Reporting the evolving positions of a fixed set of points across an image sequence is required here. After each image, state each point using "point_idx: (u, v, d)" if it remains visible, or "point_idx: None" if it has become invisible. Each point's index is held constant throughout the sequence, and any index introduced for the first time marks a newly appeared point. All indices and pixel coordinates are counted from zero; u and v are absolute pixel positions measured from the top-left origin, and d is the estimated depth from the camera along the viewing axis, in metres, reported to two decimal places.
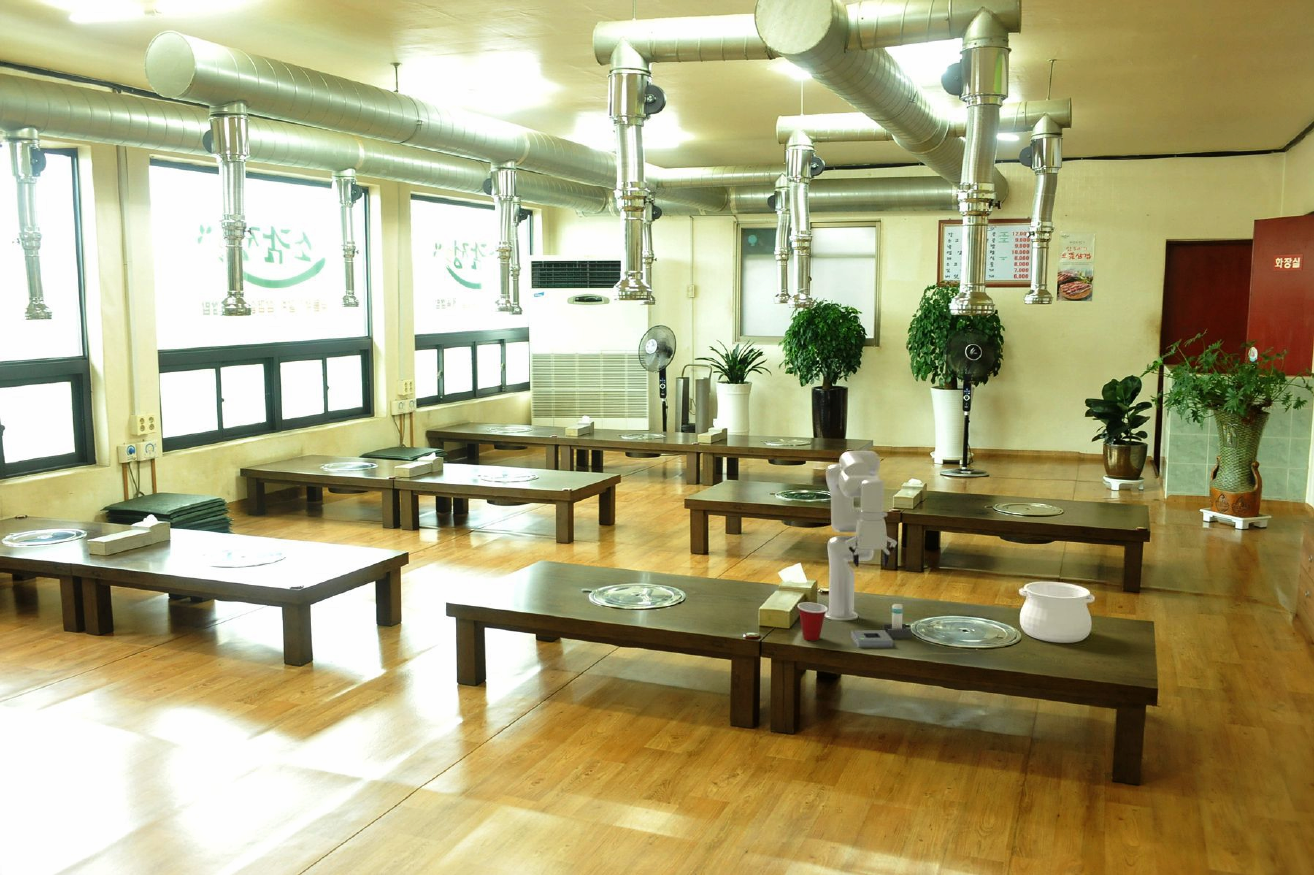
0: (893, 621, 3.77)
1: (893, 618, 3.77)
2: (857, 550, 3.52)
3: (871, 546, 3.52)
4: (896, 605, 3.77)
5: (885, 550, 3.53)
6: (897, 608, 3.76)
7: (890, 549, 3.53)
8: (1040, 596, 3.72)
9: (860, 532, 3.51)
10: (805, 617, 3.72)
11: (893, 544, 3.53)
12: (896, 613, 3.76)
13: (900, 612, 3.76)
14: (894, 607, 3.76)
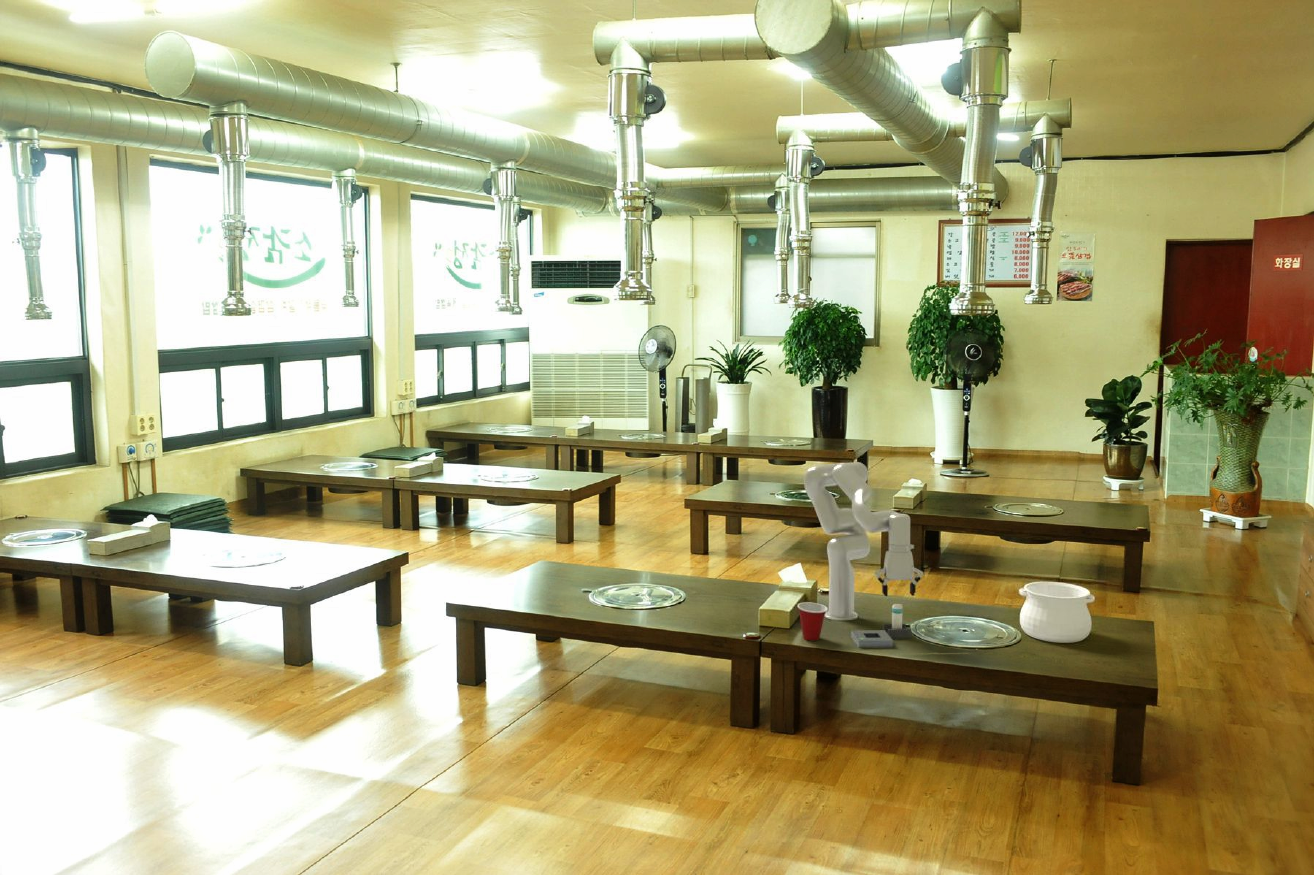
0: (893, 621, 3.77)
1: (893, 618, 3.77)
2: (886, 581, 3.74)
3: (899, 577, 3.74)
4: (896, 605, 3.77)
5: (912, 580, 3.75)
6: (897, 608, 3.76)
7: (917, 579, 3.75)
8: (1040, 596, 3.72)
9: (889, 564, 3.73)
10: (805, 617, 3.72)
11: (920, 575, 3.75)
12: (896, 613, 3.76)
13: (900, 612, 3.76)
14: (894, 607, 3.76)
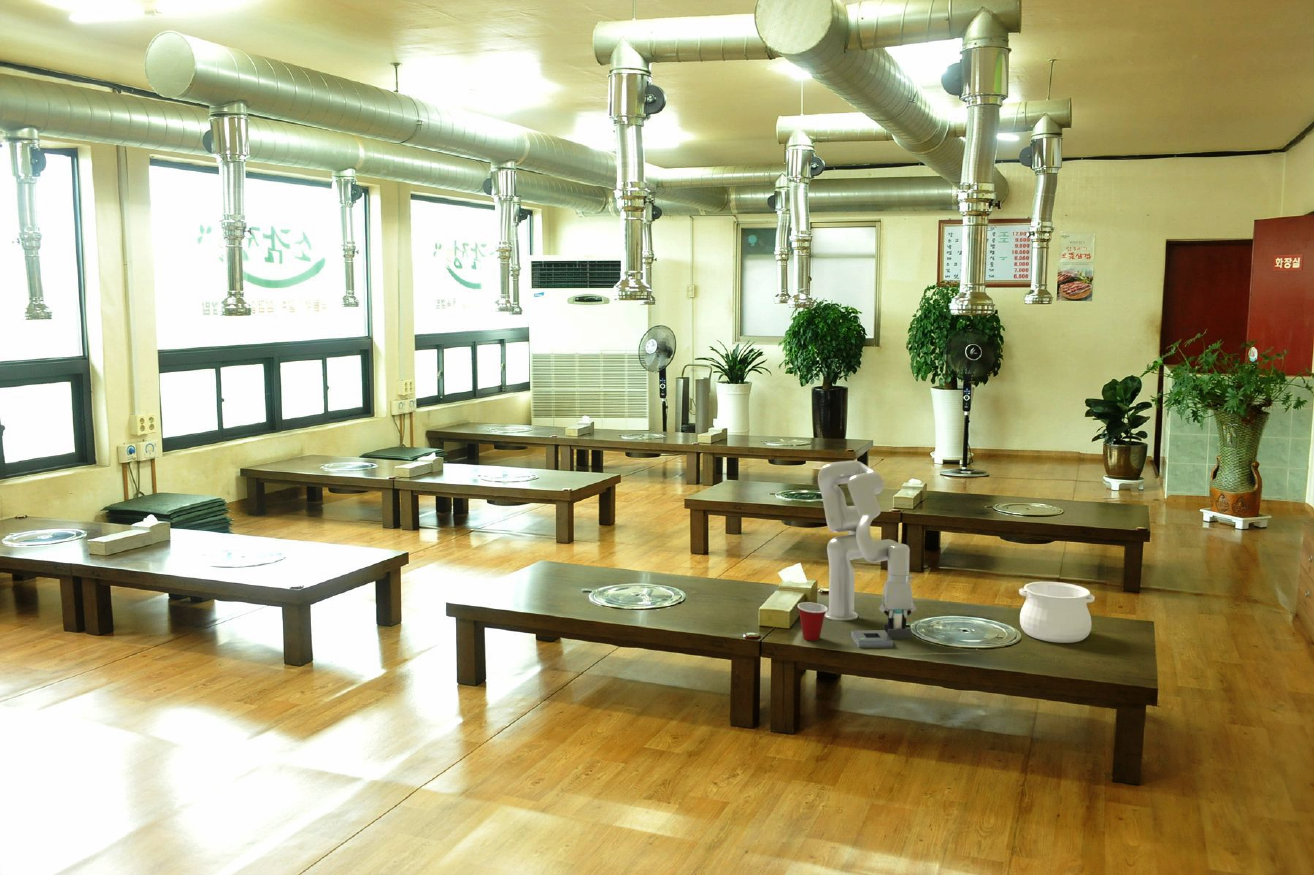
0: (893, 621, 3.77)
1: (893, 618, 3.77)
2: (890, 613, 3.76)
3: (898, 607, 3.75)
4: None
5: (905, 613, 3.76)
6: None
7: (908, 613, 3.77)
8: (1040, 596, 3.72)
9: (887, 594, 3.75)
10: (805, 617, 3.72)
11: (912, 609, 3.77)
12: (896, 613, 3.76)
13: (900, 612, 3.76)
14: None
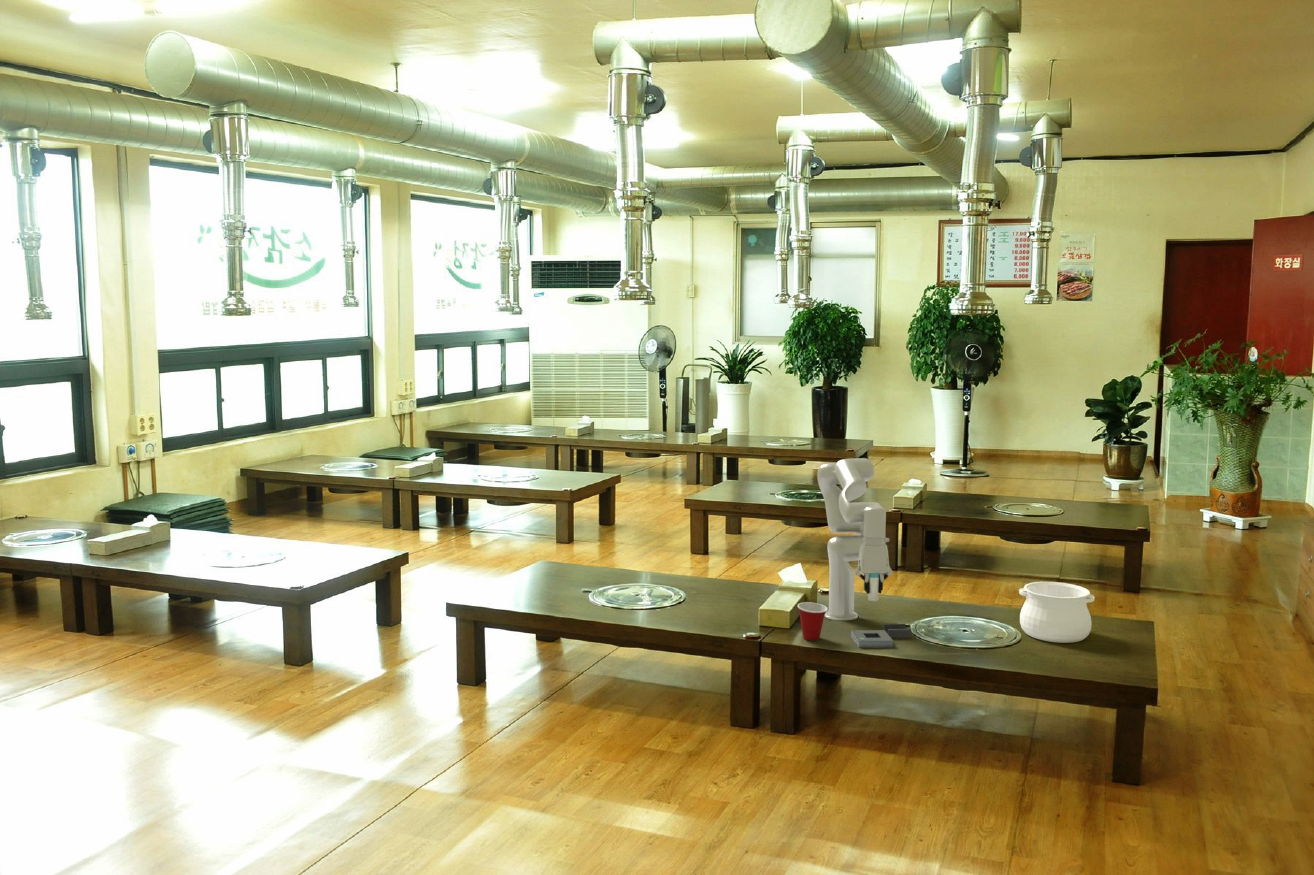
0: None
1: (869, 582, 3.67)
2: (866, 577, 3.66)
3: (874, 570, 3.65)
4: None
5: (881, 577, 3.66)
6: None
7: (884, 577, 3.67)
8: (1040, 596, 3.72)
9: (863, 557, 3.64)
10: (805, 617, 3.72)
11: (889, 573, 3.67)
12: (872, 577, 3.66)
13: (876, 576, 3.66)
14: None
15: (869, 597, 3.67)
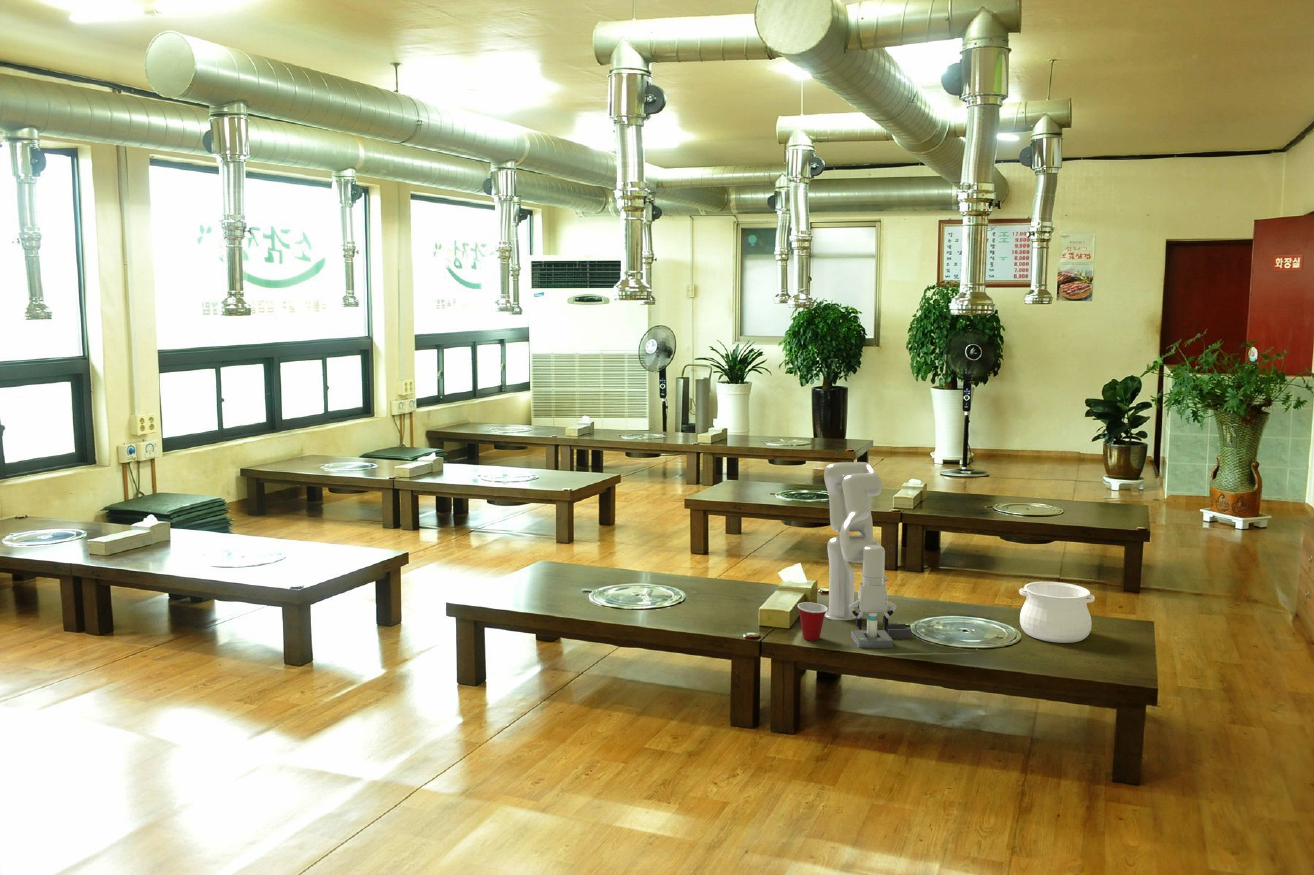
0: (868, 628, 3.69)
1: (868, 625, 3.68)
2: (860, 614, 3.68)
3: (873, 609, 3.67)
4: None
5: (885, 614, 3.68)
6: (872, 615, 3.67)
7: (890, 613, 3.68)
8: (1040, 596, 3.72)
9: (862, 596, 3.66)
10: (805, 617, 3.72)
11: (893, 608, 3.68)
12: (871, 620, 3.67)
13: (875, 619, 3.67)
14: (869, 614, 3.68)
15: None
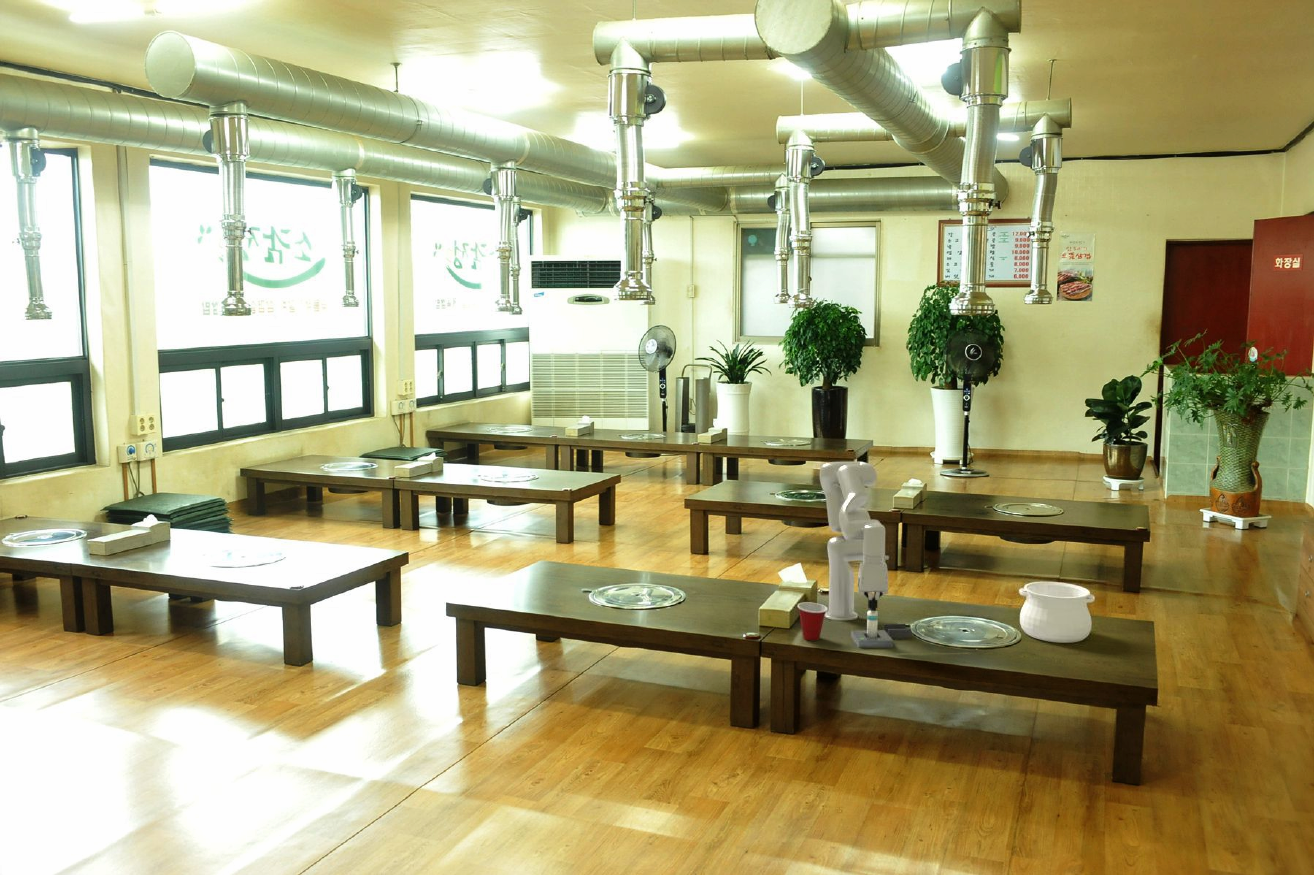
0: (868, 628, 3.69)
1: (868, 625, 3.69)
2: (869, 595, 3.67)
3: (873, 588, 3.66)
4: (871, 612, 3.69)
5: (877, 594, 3.67)
6: (872, 615, 3.67)
7: (879, 594, 3.67)
8: (1040, 596, 3.72)
9: (862, 575, 3.65)
10: (805, 617, 3.72)
11: (884, 592, 3.68)
12: (871, 620, 3.68)
13: (875, 619, 3.68)
14: (869, 614, 3.68)
15: None
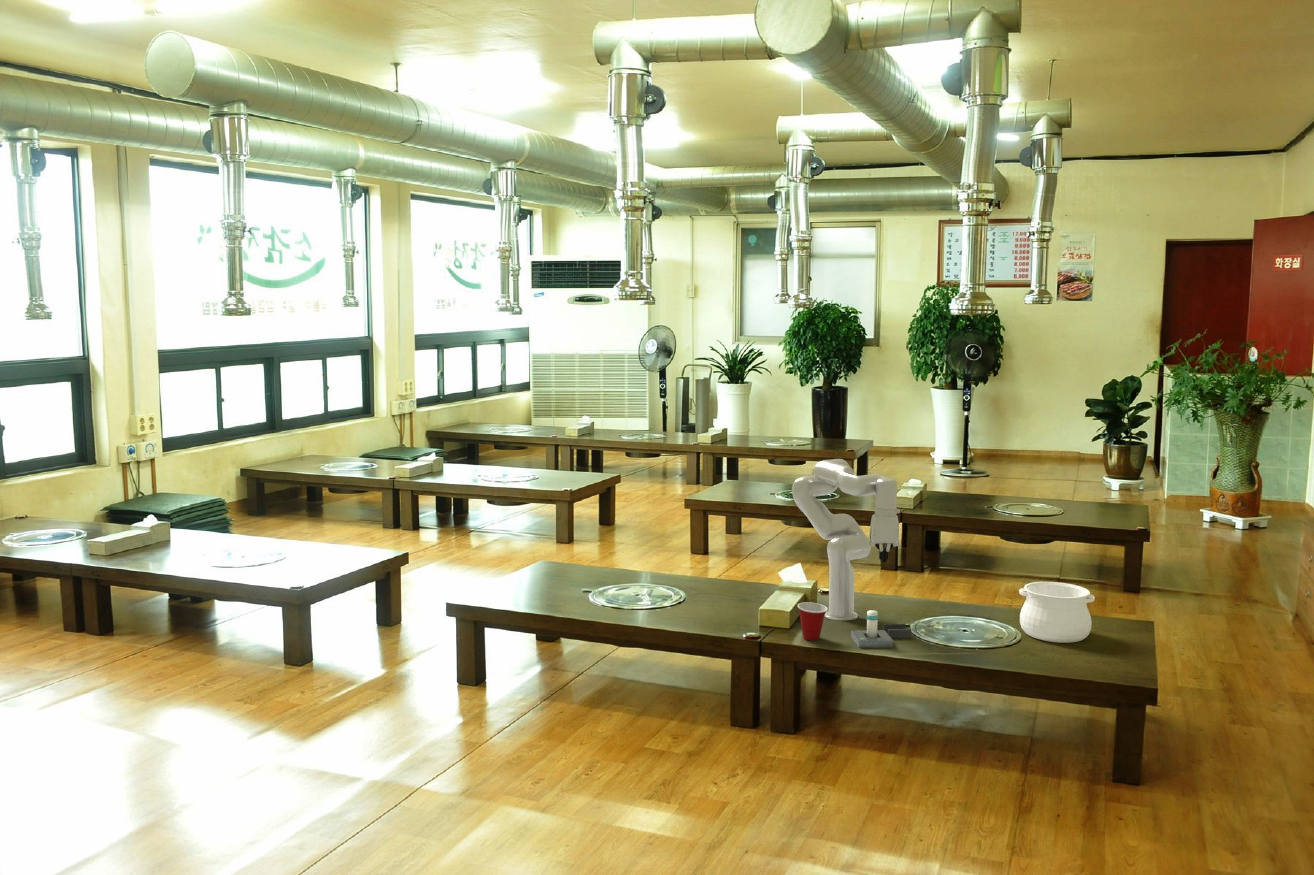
0: (868, 628, 3.69)
1: (868, 625, 3.69)
2: (880, 547, 3.79)
3: (884, 540, 3.78)
4: (871, 612, 3.69)
5: (888, 546, 3.79)
6: (872, 615, 3.67)
7: (890, 546, 3.80)
8: (1040, 596, 3.72)
9: (874, 527, 3.77)
10: (805, 617, 3.72)
11: (895, 544, 3.80)
12: (871, 620, 3.68)
13: (875, 619, 3.68)
14: (869, 614, 3.68)
15: None
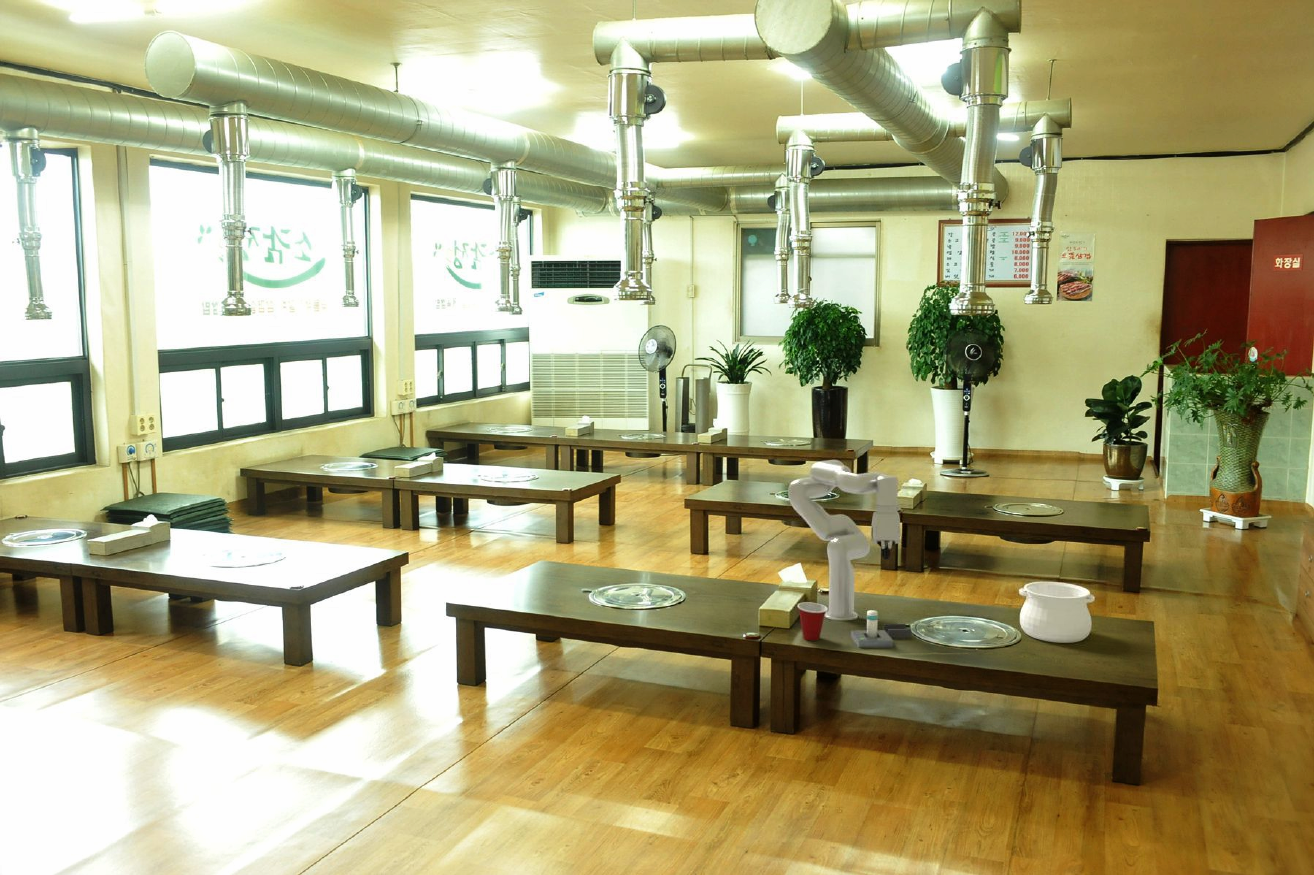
0: (868, 628, 3.69)
1: (868, 625, 3.69)
2: (882, 544, 3.80)
3: (886, 537, 3.79)
4: (871, 612, 3.69)
5: (890, 543, 3.80)
6: (872, 615, 3.67)
7: (892, 543, 3.81)
8: (1040, 596, 3.72)
9: (876, 524, 3.79)
10: (805, 617, 3.72)
11: (896, 541, 3.81)
12: (871, 620, 3.68)
13: (875, 619, 3.68)
14: (869, 614, 3.68)
15: None
